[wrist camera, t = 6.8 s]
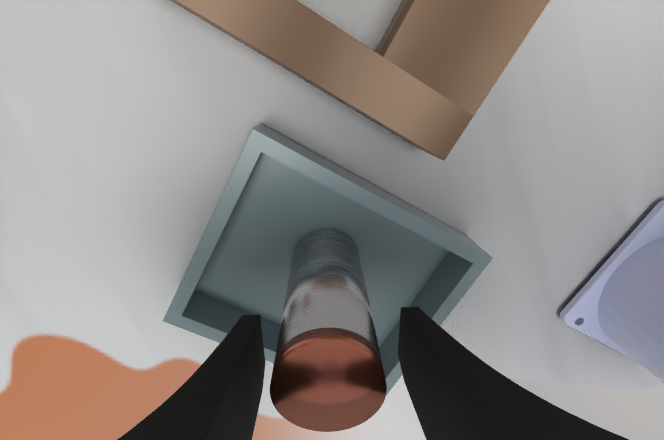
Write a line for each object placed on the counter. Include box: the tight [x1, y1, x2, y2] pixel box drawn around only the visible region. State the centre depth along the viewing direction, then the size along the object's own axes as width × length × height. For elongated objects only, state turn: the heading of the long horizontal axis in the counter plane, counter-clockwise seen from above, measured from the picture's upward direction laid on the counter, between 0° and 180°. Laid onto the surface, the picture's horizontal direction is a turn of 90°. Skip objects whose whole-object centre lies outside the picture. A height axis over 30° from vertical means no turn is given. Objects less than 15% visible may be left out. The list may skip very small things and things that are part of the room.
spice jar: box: [270, 228, 387, 432], centre depth 13 cm, size 3×3×8 cm
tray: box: [163, 123, 492, 395], centre depth 16 cm, size 11×9×2 cm
